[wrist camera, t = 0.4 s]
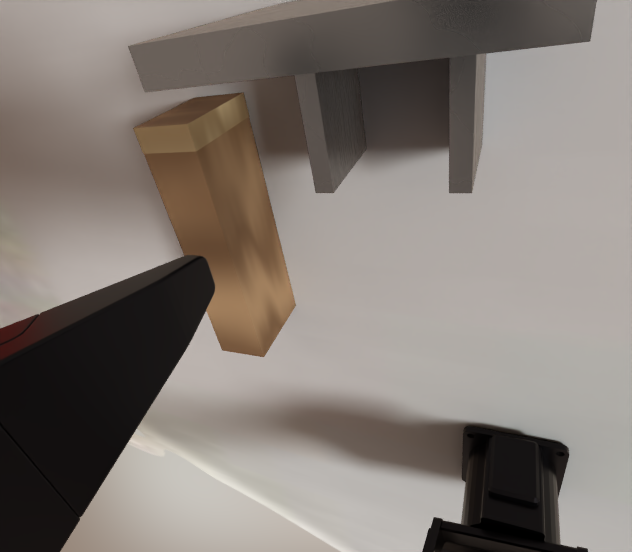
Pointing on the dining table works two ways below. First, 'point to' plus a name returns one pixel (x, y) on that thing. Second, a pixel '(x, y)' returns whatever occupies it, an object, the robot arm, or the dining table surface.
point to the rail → (222, 214)
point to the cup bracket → (363, 62)
